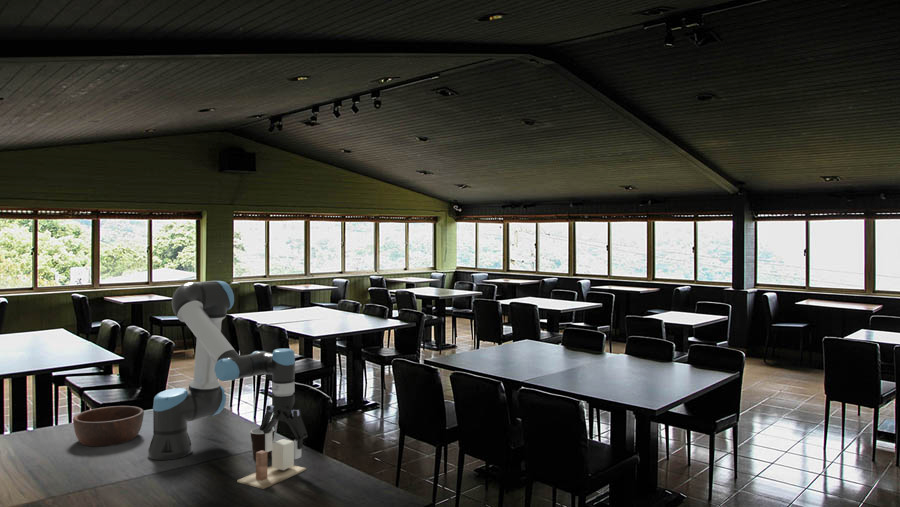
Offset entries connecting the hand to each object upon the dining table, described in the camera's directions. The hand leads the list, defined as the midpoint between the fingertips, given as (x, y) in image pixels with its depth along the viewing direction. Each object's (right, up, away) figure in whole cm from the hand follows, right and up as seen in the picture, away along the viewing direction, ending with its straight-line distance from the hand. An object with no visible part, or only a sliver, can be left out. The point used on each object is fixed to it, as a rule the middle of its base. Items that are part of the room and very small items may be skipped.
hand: (283, 454), depth 219 cm
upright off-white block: (0, -4, 0) cm, 4 cm away
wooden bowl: (-79, -5, +33) cm, 86 cm away
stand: (-2, -6, -4) cm, 8 cm away
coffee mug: (-11, -6, +15) cm, 20 cm away
